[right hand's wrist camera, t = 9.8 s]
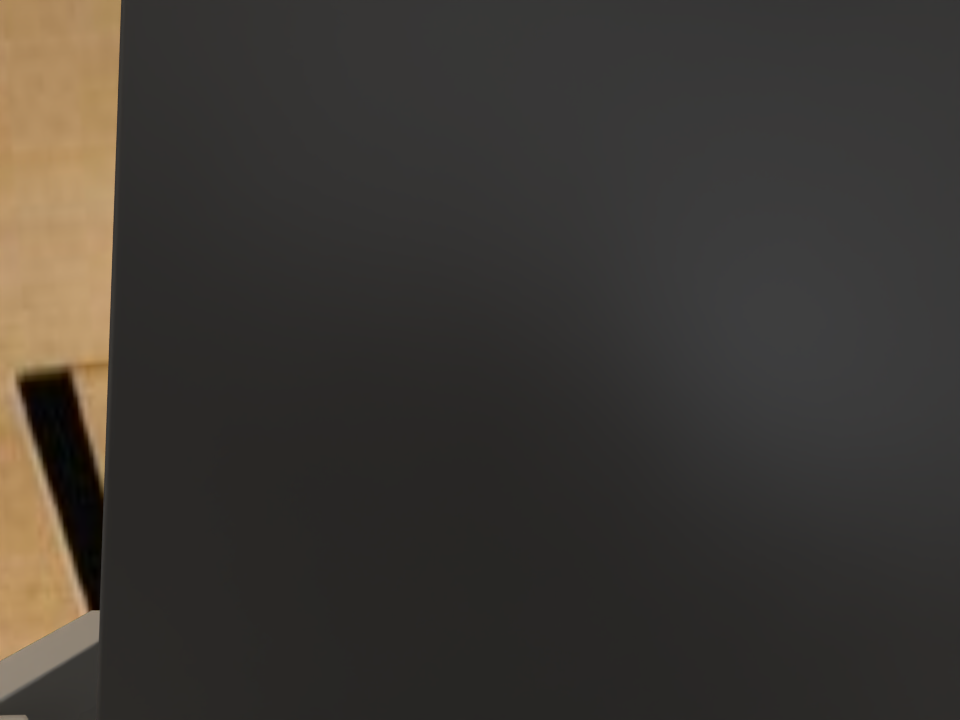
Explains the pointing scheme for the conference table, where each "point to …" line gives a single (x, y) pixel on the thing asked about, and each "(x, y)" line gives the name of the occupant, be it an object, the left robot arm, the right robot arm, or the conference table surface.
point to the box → (534, 361)
